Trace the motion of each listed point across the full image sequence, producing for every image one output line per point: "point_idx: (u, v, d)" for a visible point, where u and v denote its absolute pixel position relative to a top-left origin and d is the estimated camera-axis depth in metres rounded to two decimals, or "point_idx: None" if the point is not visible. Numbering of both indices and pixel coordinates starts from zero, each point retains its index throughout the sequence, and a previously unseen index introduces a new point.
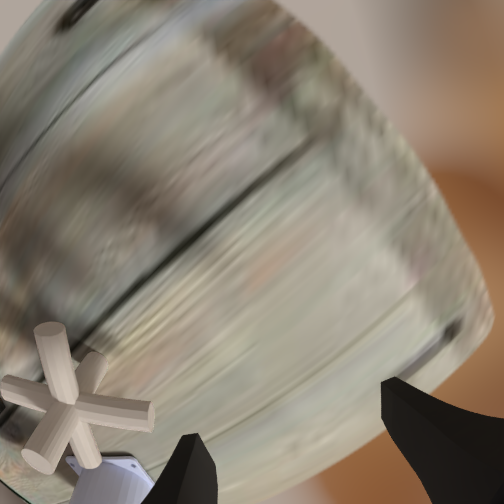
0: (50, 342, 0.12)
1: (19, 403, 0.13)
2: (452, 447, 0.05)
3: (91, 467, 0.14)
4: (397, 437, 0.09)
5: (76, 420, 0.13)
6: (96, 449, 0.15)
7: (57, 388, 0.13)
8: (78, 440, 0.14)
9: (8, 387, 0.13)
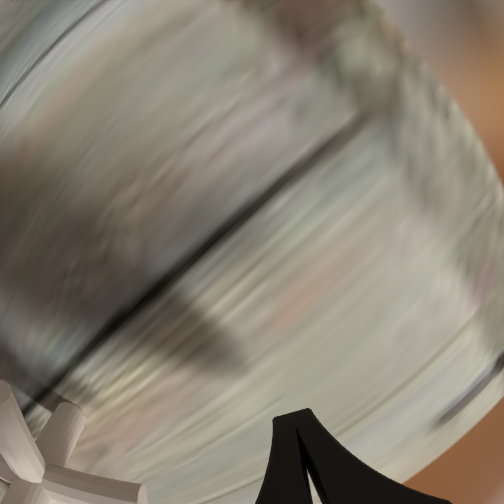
0: None
1: None
2: (329, 501, 0.05)
3: None
4: (308, 469, 0.09)
5: (45, 502, 0.07)
6: None
7: (15, 465, 0.07)
8: None
9: None
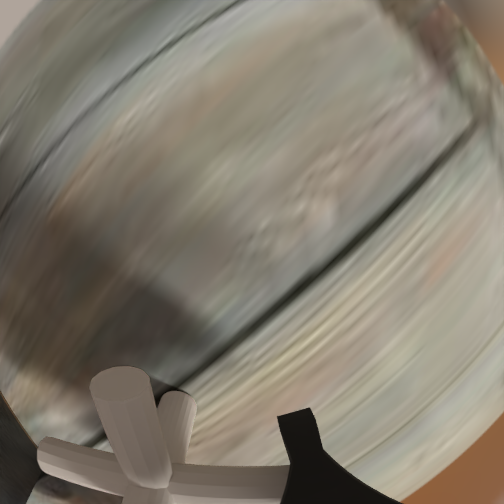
0: (126, 409, 0.07)
1: (70, 480, 0.08)
2: None
3: None
4: None
5: None
6: None
7: (139, 472, 0.07)
8: None
9: (49, 458, 0.08)
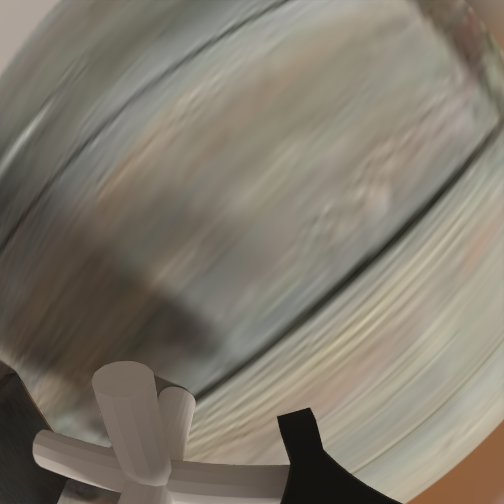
0: (130, 406, 0.07)
1: (65, 475, 0.08)
2: None
3: None
4: None
5: None
6: None
7: (139, 469, 0.07)
8: None
9: (45, 452, 0.08)
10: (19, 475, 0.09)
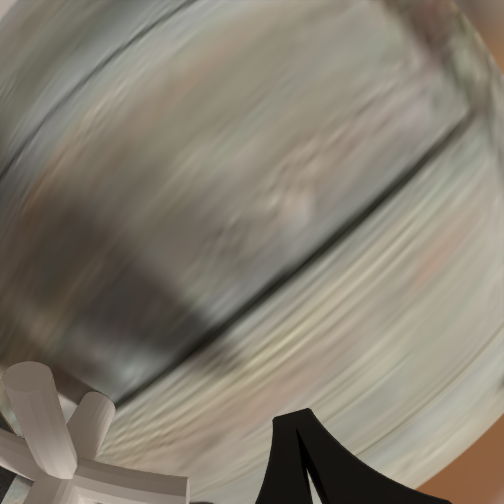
0: (29, 400, 0.06)
1: None
2: (329, 502, 0.05)
3: None
4: (308, 469, 0.09)
5: (75, 501, 0.07)
6: None
7: (45, 460, 0.07)
8: None
9: None
10: None
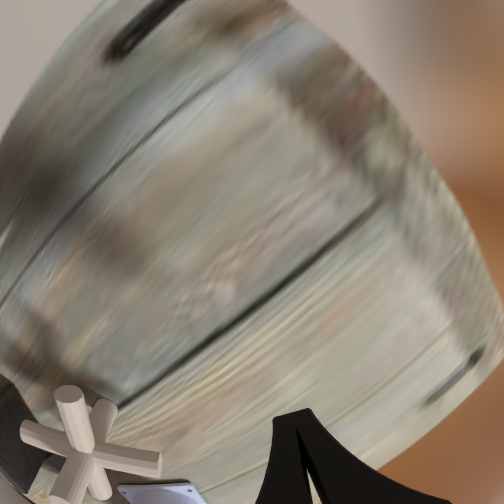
0: (71, 407, 0.13)
1: (38, 446, 0.14)
2: (329, 502, 0.05)
3: (103, 498, 0.15)
4: (308, 469, 0.09)
5: (93, 466, 0.14)
6: (108, 484, 0.15)
7: (76, 441, 0.14)
8: (93, 479, 0.14)
9: (27, 432, 0.14)
10: (14, 449, 0.15)
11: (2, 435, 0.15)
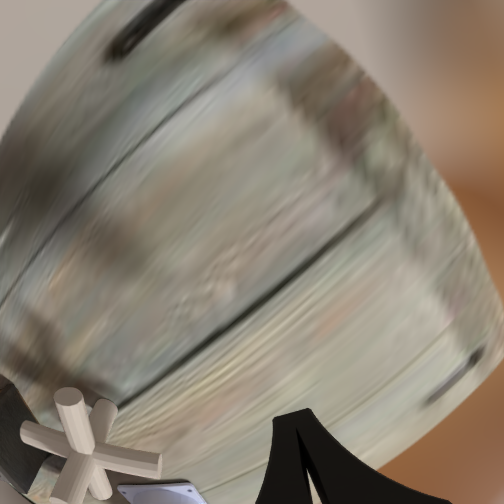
0: (70, 410, 0.13)
1: (38, 447, 0.14)
2: (329, 502, 0.05)
3: (103, 498, 0.15)
4: (308, 469, 0.09)
5: (93, 467, 0.14)
6: (108, 484, 0.15)
7: (76, 443, 0.13)
8: (93, 479, 0.14)
9: (27, 433, 0.14)
10: (14, 449, 0.15)
11: (2, 435, 0.15)
